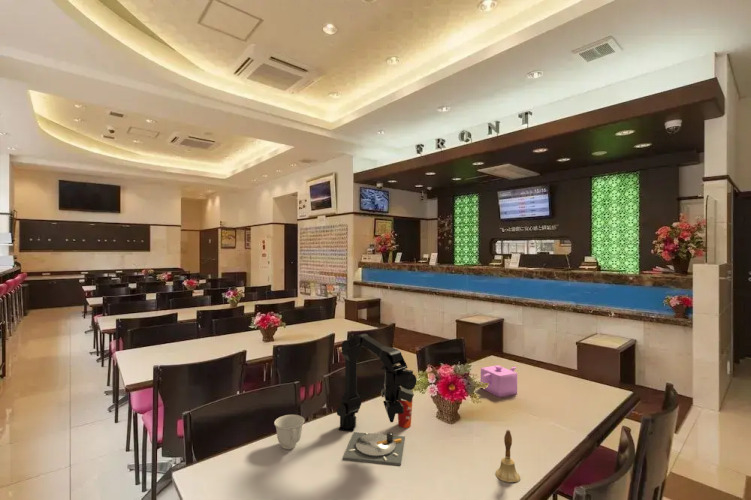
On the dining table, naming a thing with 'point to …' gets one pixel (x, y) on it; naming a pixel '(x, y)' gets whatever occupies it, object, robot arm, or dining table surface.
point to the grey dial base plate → (391, 458)
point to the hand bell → (507, 463)
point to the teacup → (289, 430)
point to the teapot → (500, 380)
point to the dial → (376, 444)
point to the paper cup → (405, 414)
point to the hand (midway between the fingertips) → (391, 421)
